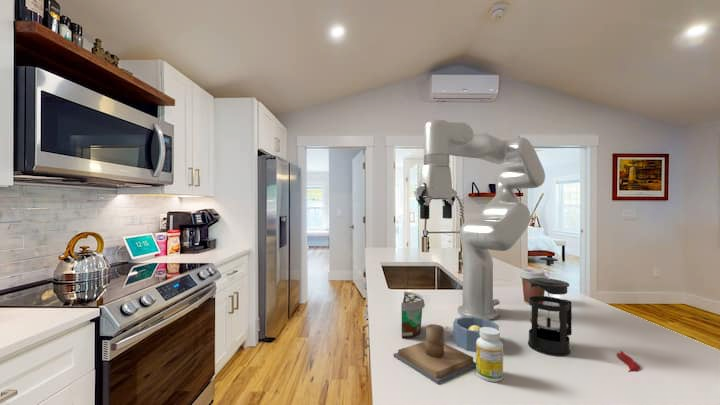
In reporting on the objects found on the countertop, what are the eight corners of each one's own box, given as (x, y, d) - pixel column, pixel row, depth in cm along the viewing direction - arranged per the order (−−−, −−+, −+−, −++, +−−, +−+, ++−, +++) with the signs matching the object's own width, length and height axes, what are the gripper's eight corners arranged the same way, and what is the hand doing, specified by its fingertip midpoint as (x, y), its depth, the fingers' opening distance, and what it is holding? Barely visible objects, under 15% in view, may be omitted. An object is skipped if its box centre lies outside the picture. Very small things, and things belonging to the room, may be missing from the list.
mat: (431, 343, 83) (431, 341, 83) (478, 366, 71) (478, 363, 71) (393, 356, 75) (393, 353, 75) (437, 384, 64) (437, 381, 64)
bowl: (471, 331, 91) (471, 314, 91) (507, 345, 82) (507, 326, 82) (445, 340, 85) (445, 321, 85) (480, 356, 76) (480, 335, 76)
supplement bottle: (498, 385, 63) (498, 337, 64) (472, 376, 67) (472, 330, 67) (506, 374, 68) (506, 329, 68) (481, 366, 71) (481, 323, 71)
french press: (546, 358, 75) (546, 261, 75) (517, 342, 84) (517, 255, 84) (585, 353, 78) (585, 260, 78) (553, 337, 87) (553, 254, 87)
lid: (433, 343, 82) (433, 315, 82) (473, 362, 72) (473, 330, 72) (398, 354, 75) (398, 324, 75) (436, 378, 65) (436, 343, 65)
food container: (424, 342, 83) (424, 304, 83) (401, 340, 84) (401, 303, 85) (424, 325, 95) (424, 292, 95) (404, 323, 97) (404, 291, 97)
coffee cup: (553, 307, 113) (553, 273, 114) (527, 307, 113) (527, 273, 114) (539, 299, 122) (539, 268, 123) (515, 299, 123) (515, 268, 123)
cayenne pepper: (640, 377, 68) (639, 368, 68) (612, 370, 71) (612, 361, 71) (642, 358, 76) (642, 350, 76) (617, 352, 80) (617, 344, 80)
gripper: (446, 165, 103) (446, 217, 103) (406, 161, 94) (406, 218, 94) (465, 163, 97) (465, 218, 97) (424, 158, 87) (424, 219, 87)
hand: (436, 218), depth 95 cm, fingers open, 9 cm apart
